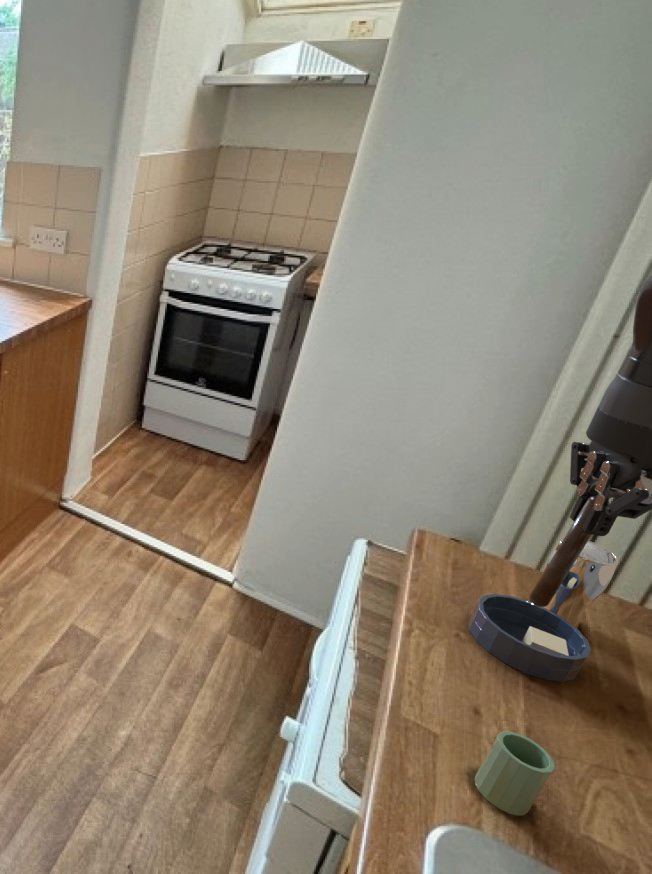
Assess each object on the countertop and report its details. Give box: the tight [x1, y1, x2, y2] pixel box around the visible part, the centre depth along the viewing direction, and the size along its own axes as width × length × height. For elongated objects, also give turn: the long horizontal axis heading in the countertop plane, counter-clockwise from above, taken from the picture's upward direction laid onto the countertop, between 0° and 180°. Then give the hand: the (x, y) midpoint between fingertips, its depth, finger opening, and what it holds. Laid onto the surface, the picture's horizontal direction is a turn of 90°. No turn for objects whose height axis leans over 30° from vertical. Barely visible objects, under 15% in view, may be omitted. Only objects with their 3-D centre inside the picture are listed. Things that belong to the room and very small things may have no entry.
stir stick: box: [528, 495, 611, 607], centre depth 83 cm, size 2×2×19 cm
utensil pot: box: [474, 730, 556, 817], centre depth 74 cm, size 5×5×9 cm
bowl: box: [467, 593, 592, 683], centre depth 95 cm, size 13×13×6 cm
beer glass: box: [542, 536, 620, 630], centre depth 99 cm, size 7×7×15 cm
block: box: [522, 626, 569, 656], centre depth 93 cm, size 4×4×4 cm
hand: (586, 527), depth 81 cm, fingers closed on stir stick, 2 cm apart
